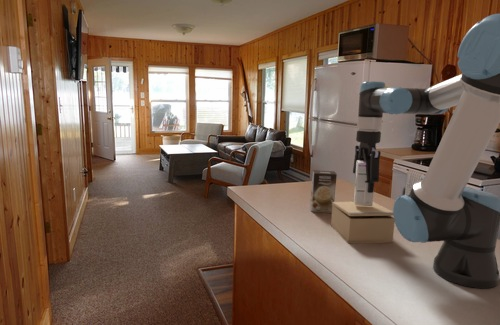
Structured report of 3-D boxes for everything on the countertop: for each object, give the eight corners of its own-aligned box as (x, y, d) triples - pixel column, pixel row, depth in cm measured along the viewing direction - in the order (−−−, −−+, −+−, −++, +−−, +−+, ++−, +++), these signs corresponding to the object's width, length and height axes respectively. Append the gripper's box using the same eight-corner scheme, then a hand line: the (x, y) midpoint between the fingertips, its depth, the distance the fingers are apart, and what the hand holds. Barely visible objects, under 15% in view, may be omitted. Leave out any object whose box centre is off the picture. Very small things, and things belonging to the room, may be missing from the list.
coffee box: (311, 211, 146) (313, 173, 143) (310, 207, 152) (312, 169, 149) (334, 213, 145) (336, 174, 142) (332, 208, 151) (334, 170, 148)
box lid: (395, 215, 115) (395, 212, 115) (350, 216, 113) (350, 213, 113) (372, 203, 131) (372, 201, 131) (332, 204, 129) (332, 201, 129)
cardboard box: (392, 242, 117) (394, 218, 115) (348, 243, 115) (350, 219, 113) (370, 224, 132) (372, 203, 131) (331, 225, 130) (332, 204, 129)
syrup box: (372, 206, 118) (376, 163, 116) (354, 205, 119) (357, 162, 117) (370, 201, 124) (374, 160, 121) (352, 200, 125) (356, 159, 122)
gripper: (395, 133, 108) (388, 207, 112) (366, 127, 127) (361, 190, 131) (371, 133, 107) (365, 207, 111) (346, 127, 126) (341, 190, 130)
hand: (363, 198), depth 121 cm, fingers closed on syrup box, 7 cm apart
